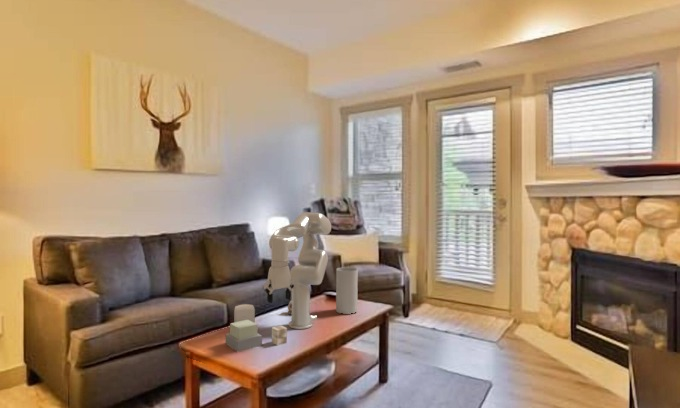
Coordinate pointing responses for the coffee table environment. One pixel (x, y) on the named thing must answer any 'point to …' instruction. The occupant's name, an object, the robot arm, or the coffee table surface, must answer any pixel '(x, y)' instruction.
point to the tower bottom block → (243, 342)
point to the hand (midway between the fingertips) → (279, 300)
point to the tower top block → (243, 329)
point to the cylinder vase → (346, 290)
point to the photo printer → (244, 313)
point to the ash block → (279, 335)
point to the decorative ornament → (290, 307)
